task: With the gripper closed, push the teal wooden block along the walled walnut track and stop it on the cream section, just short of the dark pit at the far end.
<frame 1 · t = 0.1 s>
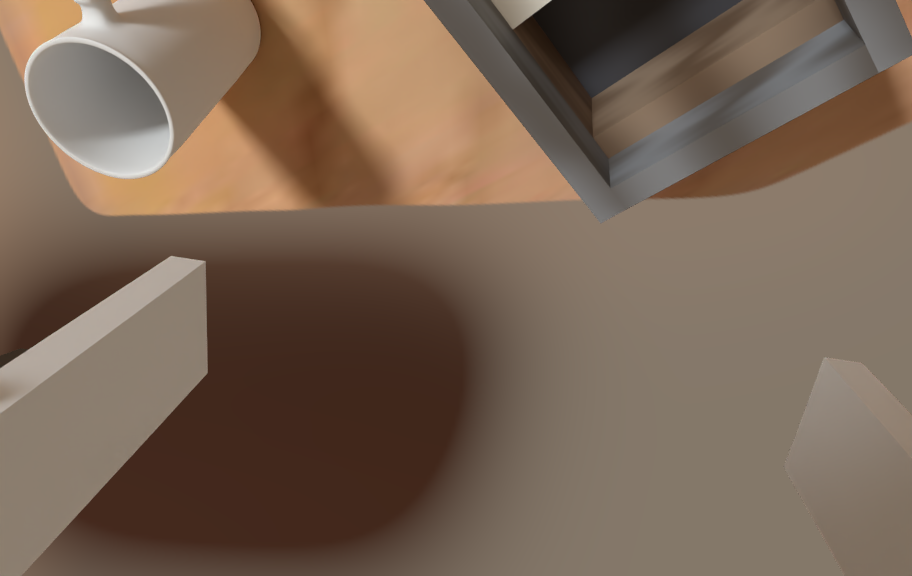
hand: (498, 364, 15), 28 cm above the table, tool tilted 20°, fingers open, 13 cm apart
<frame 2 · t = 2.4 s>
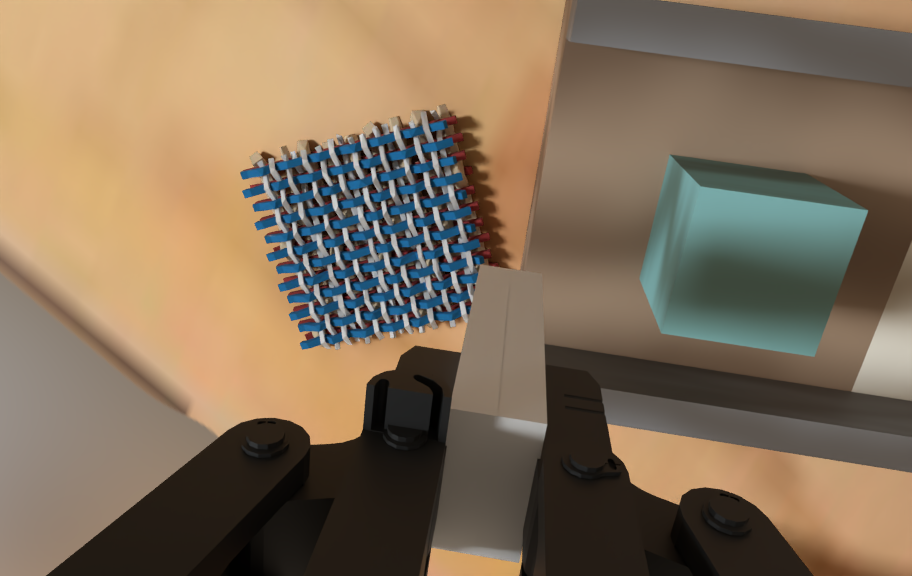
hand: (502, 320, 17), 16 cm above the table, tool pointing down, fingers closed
woven mat: (381, 229, 34), on the table
block: (719, 228, 26), point 5 cm above the table, touching track
track: (894, 224, 30), on the table
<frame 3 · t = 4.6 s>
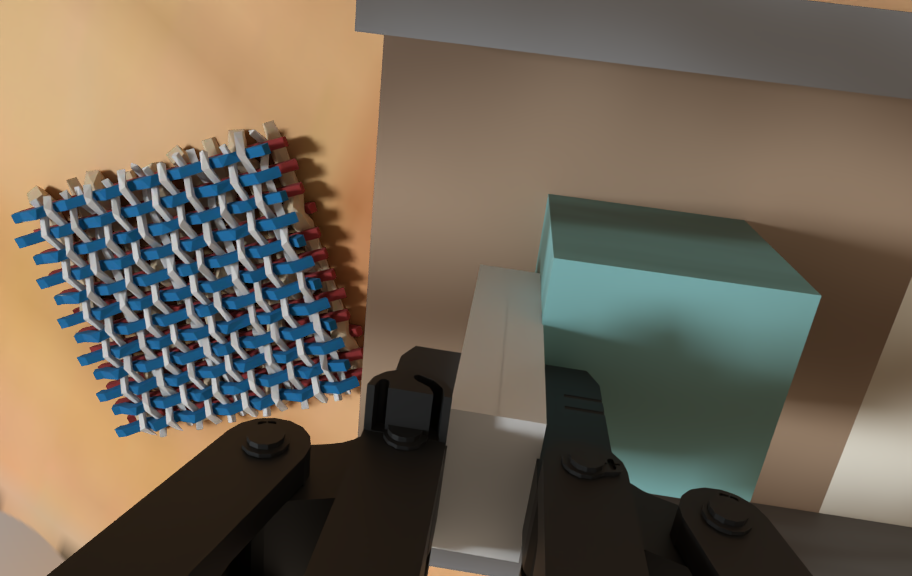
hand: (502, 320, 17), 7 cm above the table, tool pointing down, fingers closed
woven mat: (215, 282, 26), on the table
block: (625, 296, 18), point 5 cm above the table, touching gripper
track: (878, 276, 23), on the table
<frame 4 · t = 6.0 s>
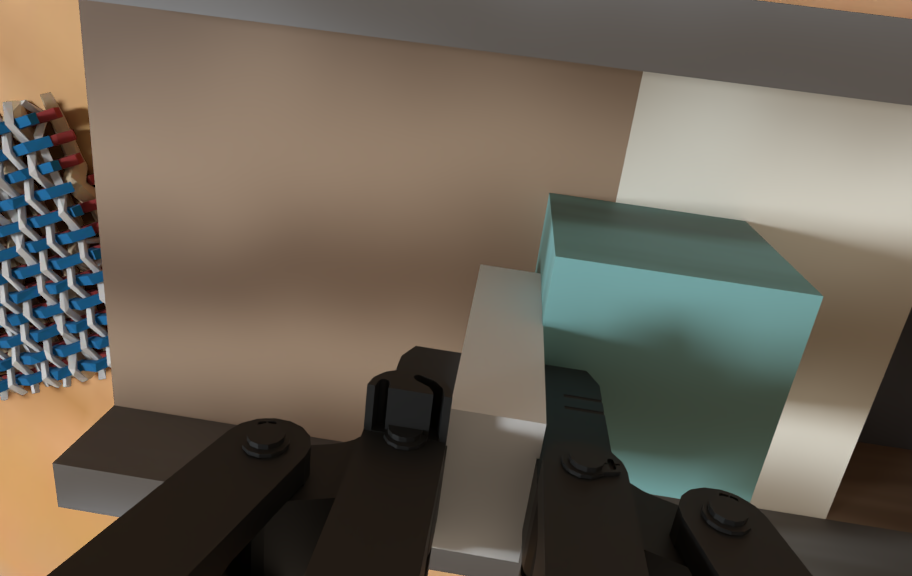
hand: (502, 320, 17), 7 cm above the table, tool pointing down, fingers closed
woven mat: (20, 254, 26), on the table
block: (625, 296, 18), point 5 cm above the table, touching gripper
track: (642, 247, 23), on the table
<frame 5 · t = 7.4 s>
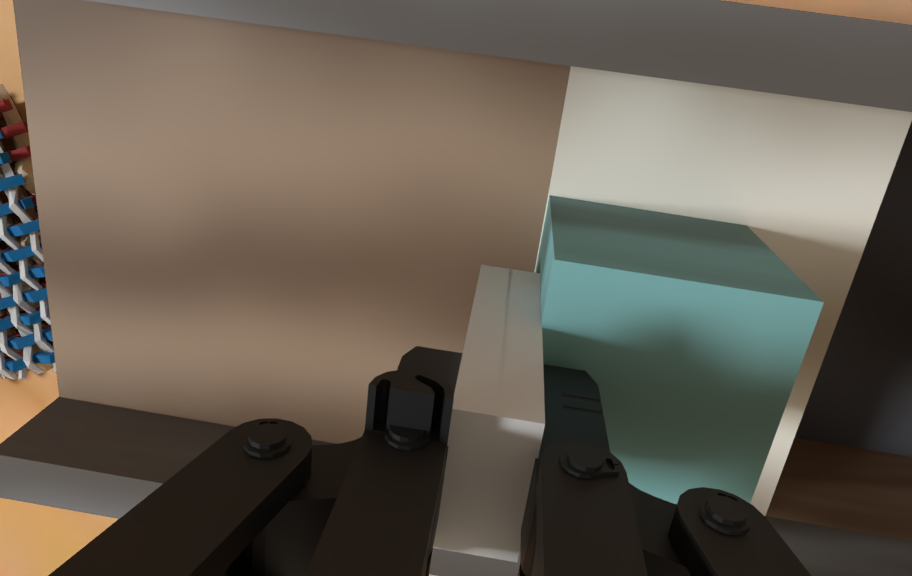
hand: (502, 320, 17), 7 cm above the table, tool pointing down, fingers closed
block: (625, 299, 18), point 5 cm above the table, touching gripper, track
track: (591, 244, 23), on the table
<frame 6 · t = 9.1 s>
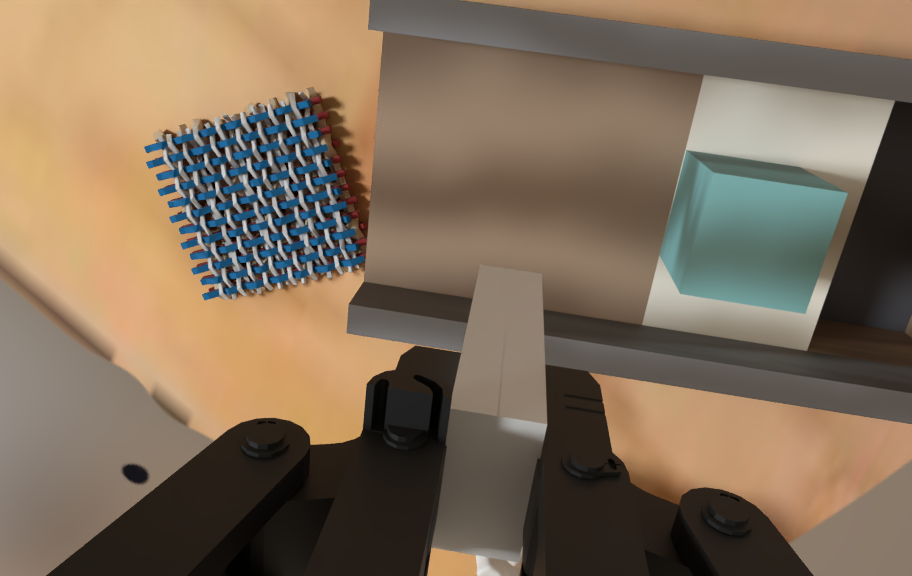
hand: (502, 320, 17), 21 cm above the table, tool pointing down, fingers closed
woven mat: (270, 196, 39), on the table
block: (727, 212, 31), point 5 cm above the table, touching track
track: (691, 189, 36), on the table
mug: (534, 481, 44), on the table
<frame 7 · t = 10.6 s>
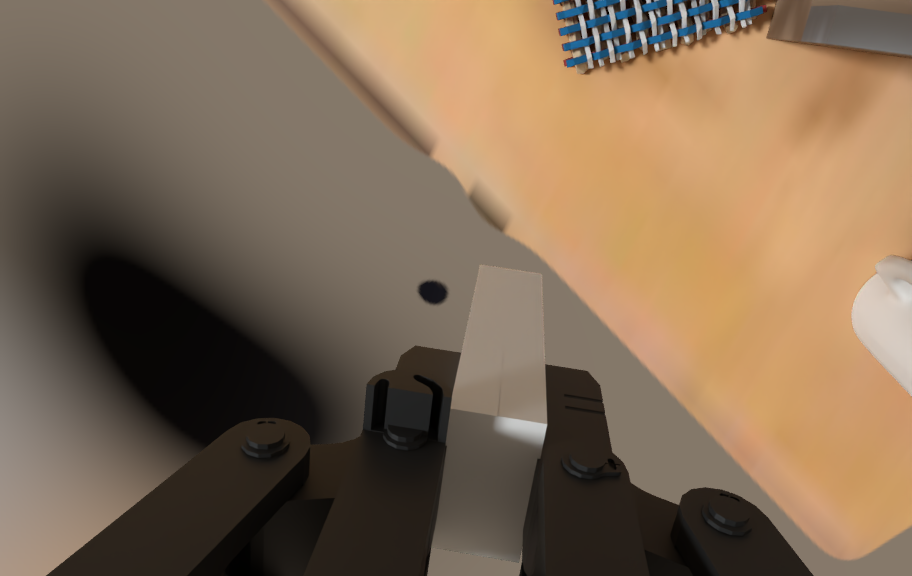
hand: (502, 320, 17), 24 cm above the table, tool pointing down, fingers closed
mug: (890, 287, 40), on the table
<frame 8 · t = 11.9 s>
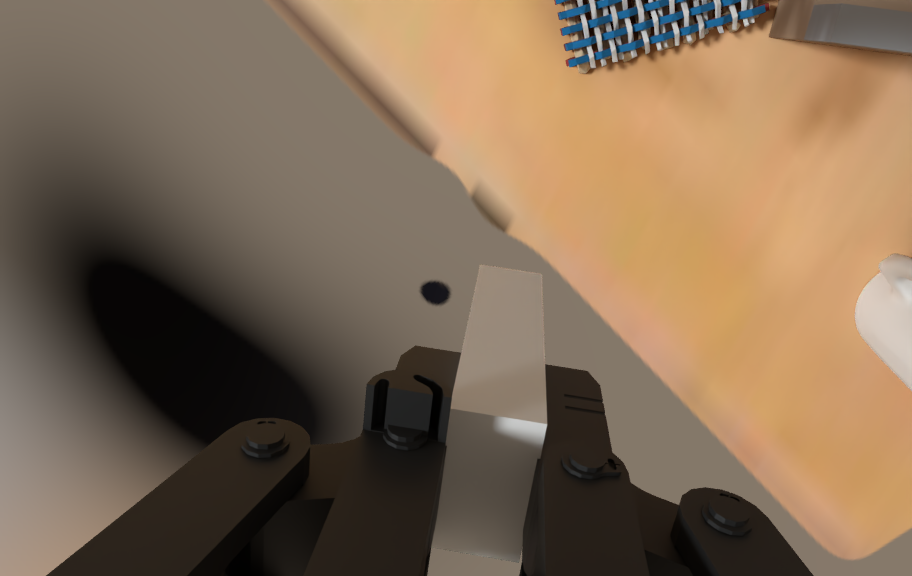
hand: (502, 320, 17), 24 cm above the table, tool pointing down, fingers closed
mug: (893, 285, 40), on the table
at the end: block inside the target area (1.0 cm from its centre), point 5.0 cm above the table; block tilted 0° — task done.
